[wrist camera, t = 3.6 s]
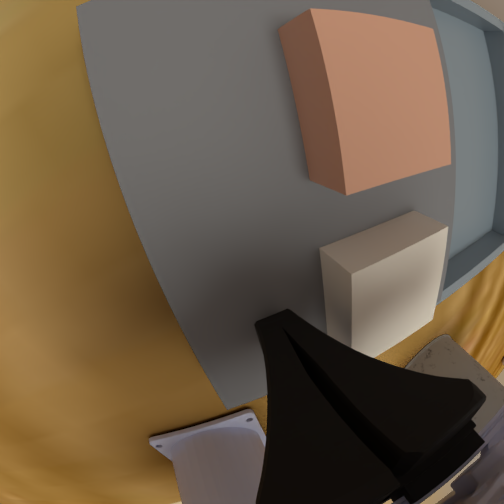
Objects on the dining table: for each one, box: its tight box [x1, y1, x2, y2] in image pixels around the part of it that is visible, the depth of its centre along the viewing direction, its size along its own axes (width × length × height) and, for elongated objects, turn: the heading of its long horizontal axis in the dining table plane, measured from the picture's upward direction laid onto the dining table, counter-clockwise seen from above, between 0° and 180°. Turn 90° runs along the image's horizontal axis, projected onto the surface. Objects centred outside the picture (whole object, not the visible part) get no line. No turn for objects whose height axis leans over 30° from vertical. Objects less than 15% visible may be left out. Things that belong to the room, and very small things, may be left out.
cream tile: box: [319, 211, 448, 358], centre depth 11 cm, size 5×5×2 cm
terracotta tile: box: [278, 8, 451, 196], centre depth 7 cm, size 5×5×2 cm
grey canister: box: [405, 334, 504, 433], centre depth 20 cm, size 10×10×12 cm
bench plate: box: [76, 0, 456, 410], centre depth 11 cm, size 17×14×3 cm
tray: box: [430, 0, 504, 305], centre depth 13 cm, size 20×13×2 cm, turn 13°
